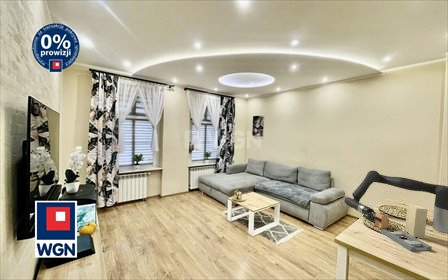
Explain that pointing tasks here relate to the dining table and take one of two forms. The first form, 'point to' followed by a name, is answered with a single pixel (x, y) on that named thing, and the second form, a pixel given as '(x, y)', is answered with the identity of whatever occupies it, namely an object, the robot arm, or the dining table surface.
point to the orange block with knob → (384, 219)
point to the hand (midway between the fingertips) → (384, 220)
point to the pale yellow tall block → (416, 220)
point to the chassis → (411, 244)
